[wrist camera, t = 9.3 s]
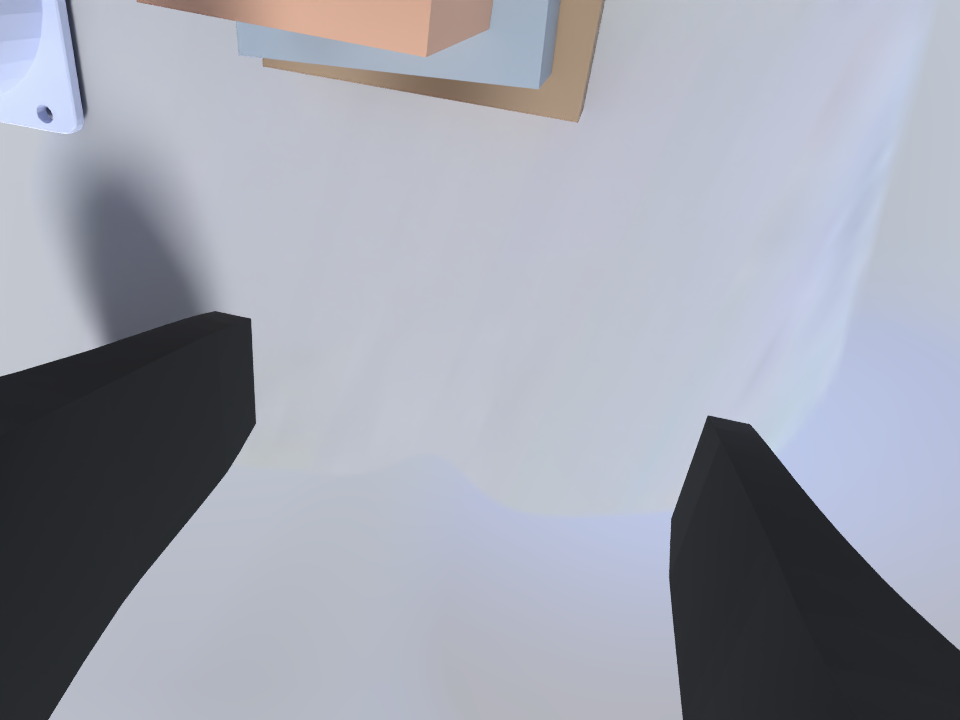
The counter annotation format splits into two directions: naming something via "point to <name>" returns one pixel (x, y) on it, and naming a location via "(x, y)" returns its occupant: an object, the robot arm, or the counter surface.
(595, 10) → the walnut base block
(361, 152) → the counter surface
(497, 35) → the slate middle block
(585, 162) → the counter surface
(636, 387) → the counter surface
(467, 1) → the terracotta block
